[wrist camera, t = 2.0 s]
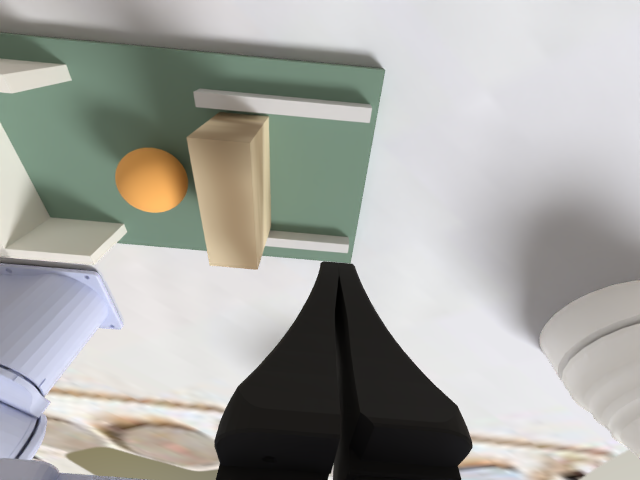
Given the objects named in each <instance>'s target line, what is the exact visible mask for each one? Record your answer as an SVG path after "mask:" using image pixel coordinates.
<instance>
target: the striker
mask: <svg viewBox="0 0 640 480" xmlns="http://www.w3.org/2000/svg"><path fill="white" fill-rule="evenodd" d="M186 138H187V143H188V149H189V154H190V160H191V165H192V171H193V176H194V182H195V187H196V193H197V198H198V204H199V209H200V215H201V220H202V226H203V231H204V236H205V242H206V247H207V253H208V258H209V264H210V266H222V267H233V268H245V269H258V266H259V263H260V260H261V257H262V254H263V250H264V247H265V244H266V241H267V238H268V235H269V231H270V228H271V194H270V147H269V116H259V115H248V114H237V113H227V112H219V113H217V114H216V115H215V116H213V117H212V118H211V119H210V120H208V121H207V122H206V123H204V124H203V125H202V126H200V127H199V128H198V129H197V130H195V131H194V132H193V133H191V134H190V135H189V136H187V137H186Z"/></svg>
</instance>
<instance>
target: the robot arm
mask: <svg viewBox="0 0 640 480" xmlns="http://www.w3.org/2000/svg"><path fill="white" fill-rule="evenodd" d="M122 327H123V323H122V321H121V319H120V316H119V314H118V312H117V310H116V308H115V306H114V304H113V302H112V300H111V298H110V296H109V293H108V291H107V289H106V287H105V285H104V283H103V281H102V279H101V277H100V275H99V274H98V273H97V272H95V271H86V270H75V269H63V268H51V267H40V266H28V265H16V264H4V263H0V480H146V479H133V478H120V477H107V476H94V475H82V474H69V473H59V470H58V469H57V468H56V467H55V466H53V465H52V464H50V463H46V462H43V461H36V460H31V459H32V458H33V457H34V455H35V453H36V452H37V450H38V449H39V447H40V445H41V443H42V441H43V438H44V436H45V432H46V426H47V417H46V416H45V415H44V414H42V413H43V412H44V410H45V409H46V408H47V406H48V405H49V404H50V401H49V400H47V399H45V398H44V397H45V396H46V395H47V393H48V392H49V391H50V389H51V388H52V387H53V386H54V384H55V383H56V382H57V380H58V379H59V378H60V377H61V375H62V374H63V373H64V371H65V370H66V369H67V368H68V366H69V365H70V364H71V362H72V361H73V360H74V359H75V357H76V356H77V355H78V353H79V352H80V351H81V349H82V348H83V347H84V346H85V344H86V343H87V342H88V340H89V339H90V338H91V337H92V335H93V334H94V333H95V331H96V330H97V329H98V328H107V329H121V328H122ZM215 449H216V452H217V455H218V458H219V462H220V466H219V469H218V473H217V477H216V480H328V476H329V474H331V470H332V467H333V463H334V470H333V480H461V476H460V473H459V469H458V465H459V464H460V463H461V462H462V461H463V460H464V459H465V457H466V456H467V455H468V454H469V452H470V451H471V449H472V441H471V438H470V435H469V431H468V429H467V426H466V424H465V421H464V419H463V417H462V415H461V413H460V410H459V408H458V406H457V405H456V404H455V403H454V402H453V401H452V400H451V399H449V398H448V397H447V396H446V395H445V394H444V393H443V392H442V391H441V390H440V389H438V388H437V387H436V386H435V385H434V384H433V383H432V382H431V381H430V380H429V379H428V378H427V377H426V376H425V374H424V373H423V372H422V371H421V370H420V369H419V368H418V367H417V366H416V365H415V363H414V362H413V361H412V360H411V359H410V358H409V357H408V355H407V354H406V353H405V352H404V351H403V350H402V348H401V347H400V346H399V344H398V343H397V342H396V341H395V339H394V338H393V336H392V335H391V334H390V332H389V331H388V330H387V328H386V327H385V325H384V324H383V322H382V320H381V319H380V317H379V316H378V314H377V312H376V311H375V309H374V307H373V305H372V304H371V302H370V300H369V298H368V296H367V294H366V292H365V290H364V288H363V286H362V284H361V281H360V279H359V277H358V274H357V272H356V269H355V266H354V265H353V264H348V263H337V262H325V261H323V262H322V263H321V265H320V270H319V274H318V277H317V279H316V282H315V284H314V287H313V289H312V291H311V293H310V295H309V297H308V299H307V301H306V303H305V305H304V306H303V308H302V310H301V312H300V313H299V315H298V317H297V318H296V320H295V321H294V323H293V324H292V326H291V327H290V329H289V330H288V331H287V333H286V334H285V335H284V337H283V338H282V339H281V341H280V342H279V343H278V345H277V346H276V347H275V348H274V349H273V351H272V352H271V353H270V354H269V355H268V356H267V357H266V358H265V360H264V361H263V362H262V363H261V364H260V365H259V366H258V367H257V368H256V369H255V370H254V371H253V372H252V373H251V374H250V375H249V376H248V377H247V378H246V379H245V380H244V381H243V382H242V383H241V384H240V385H239V386H238V387H237V389H236V391H235V392H234V394H233V396H232V398H231V399H230V401H229V403H228V405H227V407H226V409H225V411H224V413H223V416H222V418H221V421H220V424H219V427H218V431H217V434H216V438H215Z"/></svg>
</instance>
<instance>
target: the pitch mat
mask: <svg viewBox="0 0 640 480" xmlns="http://www.w3.org/2000/svg"><path fill="white" fill-rule="evenodd" d="M0 59H11V60H22V61H32V62H43V63H54V64H65V65H66V66H67V68H68V71H69V74H70V77H71V79H72V80H71V81H67V82H62V83H58V84H53V85H48V86H44V87H39V88H35V89H30V90H26V91H21V92H17V93H2V92H0V123H1V125H2V127H3V129H4V130H5V132H6V134H7V136H8V138H9V140H10V142H11V144H12V146H13V147H14V149H15V151H16V153H17V155H18V157H19V159H20V161H21V163H22V165H23V166H24V168H25V170H26V172H27V174H28V176H29V178H30V180H31V182H32V183H33V185H34V187H35V189H36V191H37V193H38V195H39V197H40V199H41V200H42V202H43V204H44V206H45V208H46V210H47V212H48V214H49V216H50V217H52V218H63V219H74V220H86V221H97V222H109V223H120V224H124V225H125V228H126V230H127V233H126V234H125V235H124V236H123V237H122V238H121V239H120V240H119V241H118V242H117V243H122V244H134V245H145V246H157V247H169V248H180V249H192V250H203V251H207V247H206V242H205V236H204V231H203V226H202V220H201V215H200V209H199V204H198V198H197V193H196V187H195V182H194V176H193V171H192V165H191V160H190V154H189V149H188V143H187V138H186V137H187V136H189V135H190V134H191V133H193V132H194V131H195V130H197V129H198V128H199V127H200V126H202V125H203V124H204V123H206V122H207V121H208V120H210V119H211V118H212V117H213V116H215V115H216V114H217V113H219V112H227V113H237V114H248V115H259V116H269V147H270V194H271V228H270V231H269V235H268V238H267V241H266V244H265V247H264V250H263V254H262V256H273V257H284V258H296V259H307V260H319V261H331V262H342V263H351V257H352V252H353V246H354V241H355V235H356V230H357V224H358V219H359V213H360V207H361V202H362V196H363V191H364V185H365V180H366V174H367V168H368V163H369V157H370V152H371V146H372V141H373V135H374V130H375V124H376V118H377V113H378V107H379V102H380V96H381V91H382V85H383V80H384V74H385V70H384V69H383V68H373V67H362V66H352V65H341V64H331V63H320V62H309V61H299V60H288V59H277V58H267V57H256V56H246V55H235V54H224V53H214V52H203V51H193V50H182V49H171V48H161V47H150V46H140V45H129V44H118V43H108V42H97V41H87V40H76V39H65V38H55V37H44V36H33V35H23V34H12V33H2V32H0ZM140 148H157V149H161V150H164V151H166V152H168V153H170V154H171V155H173V156H174V157H175V158H177V159H178V160H179V162H180V163H181V164H182V165H183V167H184V169H185V171H186V173H187V177H188V189H187V193H186V195H185V197H184V199H183V200H182V201H181V202H180V203H179V204H178V205H177V206H176V207H174V208H172V209H170V210H168V211H165V212H158V213H152V212H146V211H142V210H139V209H137V208H135V207H133V206H132V205H130V204H129V203H128V202H127V201H126V200H125V199H124V198H123V197H122V196H121V194H120V193H119V191H118V189H117V186H116V181H115V173H116V169H117V166H118V164H119V162H120V161H121V159H122V158H123V157H124V156H125V155H127V154H128V153H129V152H131V151H134V150H136V149H140Z"/></svg>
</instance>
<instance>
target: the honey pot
mask: <svg viewBox="0 0 640 480" xmlns="http://www.w3.org/2000/svg"><path fill="white" fill-rule="evenodd" d="M539 345H540V347H541V349H542V351H543V353H544V355H545V356H546V358H547V359H548V361H549V363H550V364H551V366H552V367H553V369H554V370H555V372H556V374H557V375H558V377H559V378H560V380H561V382H563V384H564V386H565V388H566V389H567V390H568V391H569V393H570V395H571V397H572V399H573V400H574V401H575V402H576V403H577V404H578V405H579V406H580V407H582V408H583V409H585V410H586V411H588V412H590V413H591V414H592V415H593V417H594V419H595V420H596V421H597V422H598V423H599V424H601V425H602V426H604V427H605V428H607V429H608V430H609V431H610V433H611V435H612V437H613V438H614V439H615V440H616V441H618V442H619V443H621V444H622V445H624V446H625V447H627V448H628V449H629V450H630V451H632V452H633V453H634V454H635V455H636V456H637V457H638V458H639V459H640V280H634V281H630V282H625V283H620V284H615V285H611V286H608V287H605V288H602V289H599V290H596V291H593V292H591V293H588V294H586V295H584V296H582V297H580V298H579V299H577V300H575V301H573V302H571V303H569V304H568V305H566V306H565V307H564V308H562V309H561V310H560V311H558V312H557V313H555V314H554V315H553V317H552V318H551V319H550V320H549V321H548V322H547V323H546V324H545V326H544V328H543V330H542V332H541V334H540V340H539Z"/></svg>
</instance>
